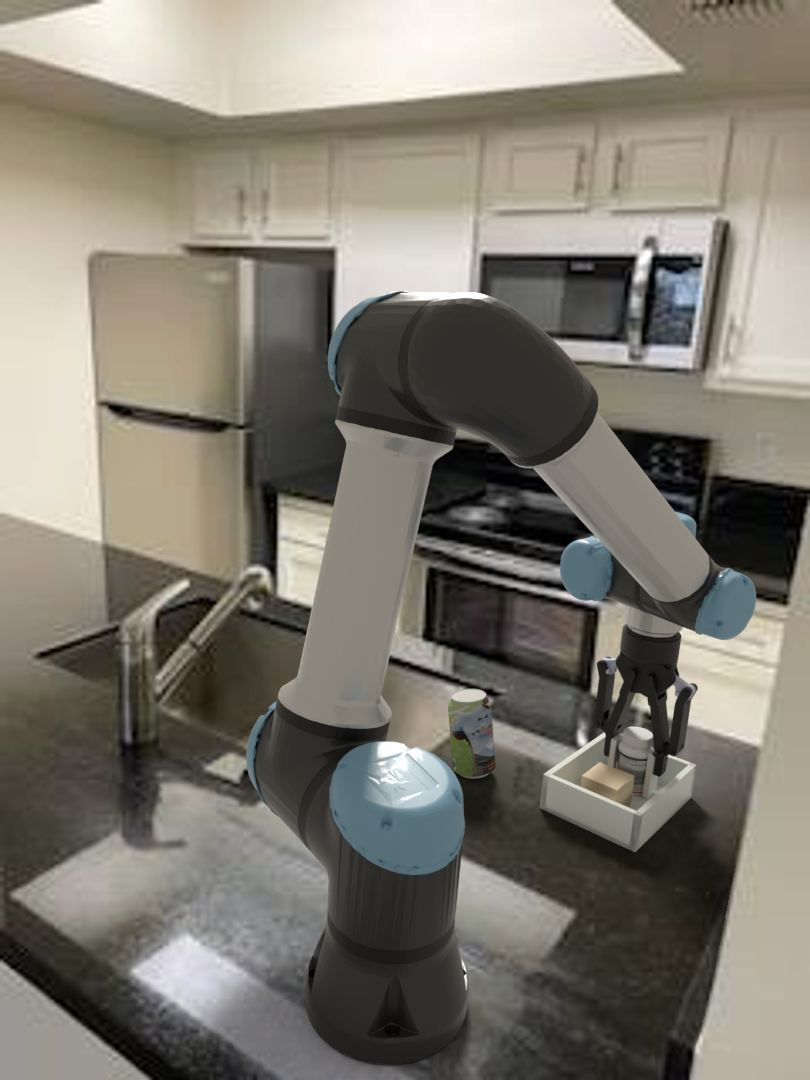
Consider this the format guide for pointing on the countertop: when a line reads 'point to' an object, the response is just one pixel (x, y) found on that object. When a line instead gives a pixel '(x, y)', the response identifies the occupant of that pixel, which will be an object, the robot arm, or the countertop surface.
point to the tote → (607, 815)
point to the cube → (609, 783)
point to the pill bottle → (635, 755)
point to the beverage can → (471, 733)
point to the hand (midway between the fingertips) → (630, 785)
